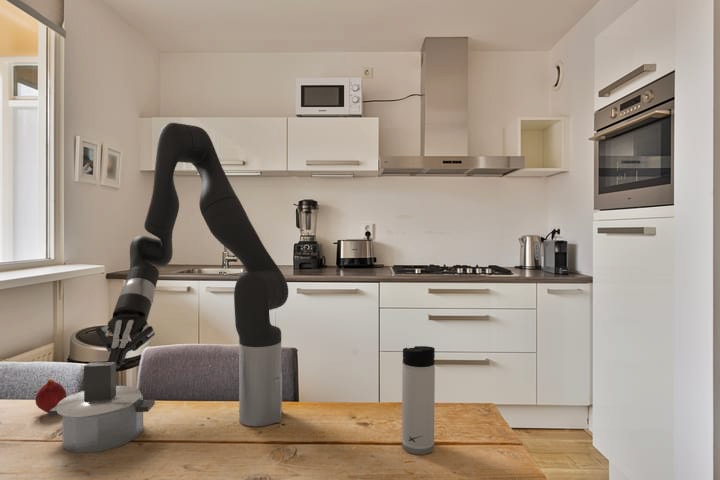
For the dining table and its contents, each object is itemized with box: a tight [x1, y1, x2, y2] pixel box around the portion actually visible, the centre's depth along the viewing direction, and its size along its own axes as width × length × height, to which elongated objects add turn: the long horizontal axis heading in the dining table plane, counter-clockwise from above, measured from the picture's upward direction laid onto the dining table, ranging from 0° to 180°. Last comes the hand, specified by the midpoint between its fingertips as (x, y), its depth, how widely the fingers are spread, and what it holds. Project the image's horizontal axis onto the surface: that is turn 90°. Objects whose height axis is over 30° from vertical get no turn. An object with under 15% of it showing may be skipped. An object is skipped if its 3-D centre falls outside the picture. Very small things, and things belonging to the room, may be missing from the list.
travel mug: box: [401, 345, 436, 456], centre depth 87 cm, size 6×7×20 cm
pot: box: [49, 393, 156, 454], centre depth 91 cm, size 19×14×7 cm
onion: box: [35, 377, 67, 414], centre depth 102 cm, size 6×6×8 cm
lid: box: [57, 361, 142, 418], centre depth 89 cm, size 15×15×8 cm
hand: (114, 366), depth 96 cm, fingers closed
